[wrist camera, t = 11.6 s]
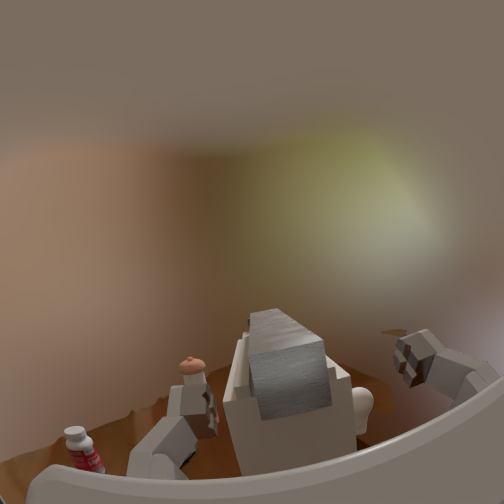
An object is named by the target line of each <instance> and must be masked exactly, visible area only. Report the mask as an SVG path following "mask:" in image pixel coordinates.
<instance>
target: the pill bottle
mask: <svg viewBox="0 0 504 504" xmlns="http://www.w3.org/2000/svg"><path fill="white" fill-rule="evenodd" d="M64 434H65V436H66V438H67V441H66V446H67V449H68V451H69V454H70V456H71V458H72V460H73V462H74V464H75V466H76V468H77V469H79V470H84V471H89V472H95V473H101V474H104V473H105V469H104V466H103V464H102V462H101V460H100V458H99V455H98V453H97V451H96V448H95V446H94V443H93V441H92V439H91V438H90V437H88V436H86V432H85V429H84V428H83V427H81V426H73V427H69V428H67V429H65V430H64Z"/></svg>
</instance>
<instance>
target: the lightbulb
mask: <svg viewBox="0 0 504 504" xmlns="http://www.w3.org/2000/svg"><path fill="white" fill-rule="evenodd" d="M352 396H353V406H354V417H355V430H356V435H362V434H364V433H365V432H366V424H367V417H368V414H369V412H370V410H371V408H372V406H373V396H372V394H371V393H370V391H369V390H367V389H365V388H361V387H357V388H353V389H352Z"/></svg>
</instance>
